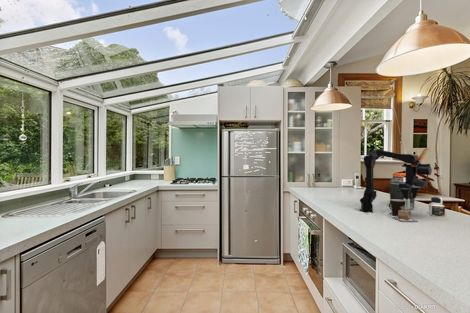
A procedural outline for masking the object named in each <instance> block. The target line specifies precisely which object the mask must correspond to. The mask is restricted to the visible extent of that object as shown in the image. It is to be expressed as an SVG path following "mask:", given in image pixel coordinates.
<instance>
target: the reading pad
mask: <svg viewBox="0 0 470 313" xmlns="http://www.w3.org/2000/svg"><path fill="white" fill-rule="evenodd" d="M391 219H393V220H396V221H397V220H398V221H397V222H399V223H400V222H401V223H419V221H418V220H416V219H413V218H411V219H410V220H403V219H398V216H392V217H391Z"/></svg>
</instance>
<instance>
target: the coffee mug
mask: <svg viewBox="0 0 470 313" xmlns="http://www.w3.org/2000/svg"><path fill="white" fill-rule="evenodd" d="M405 202H406V201H405V200H400V199H391V203H390V202H389V203H388V208H389V209H390V210H391V214H392V216H394V215H395V216H394V217H398V211H399V210H404V209H405ZM390 204H391V206H390Z"/></svg>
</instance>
